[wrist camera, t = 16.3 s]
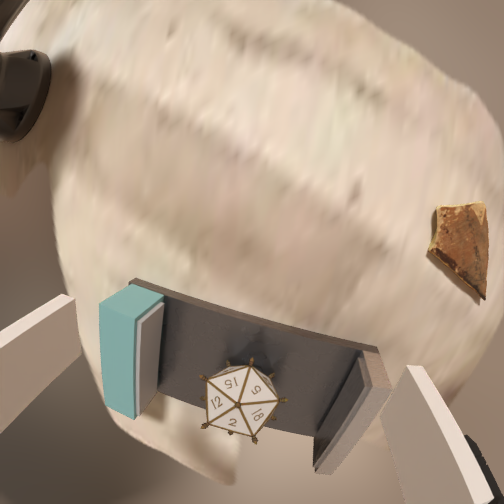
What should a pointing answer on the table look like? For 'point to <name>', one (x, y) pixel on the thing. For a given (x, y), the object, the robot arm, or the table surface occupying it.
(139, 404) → the block
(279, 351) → the vise bed
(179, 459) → the table surface
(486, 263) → the shard
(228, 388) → the game die
